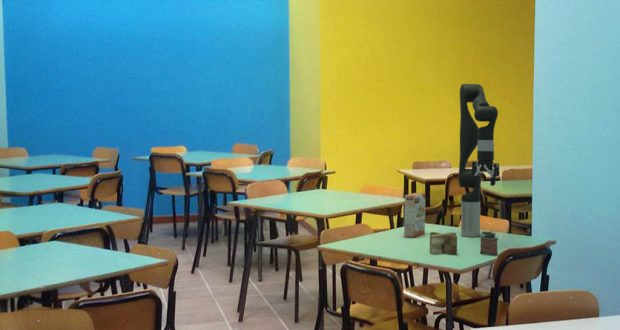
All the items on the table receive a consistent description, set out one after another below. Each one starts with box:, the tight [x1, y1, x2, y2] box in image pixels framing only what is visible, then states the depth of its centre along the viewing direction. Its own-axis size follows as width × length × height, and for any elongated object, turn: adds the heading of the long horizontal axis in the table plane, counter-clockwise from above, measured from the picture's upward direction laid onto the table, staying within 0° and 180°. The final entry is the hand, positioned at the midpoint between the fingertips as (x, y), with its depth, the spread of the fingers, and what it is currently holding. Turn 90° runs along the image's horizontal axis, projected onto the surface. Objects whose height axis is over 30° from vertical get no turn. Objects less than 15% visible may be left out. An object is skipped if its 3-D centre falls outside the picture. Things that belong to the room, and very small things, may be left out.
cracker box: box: [403, 192, 426, 239], centre depth 377 cm, size 14×6×21 cm, turn 150°
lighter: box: [479, 230, 499, 257], centre depth 329 cm, size 8×3×10 cm, turn 48°
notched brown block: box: [429, 231, 458, 256], centre depth 335 cm, size 14×2×8 cm, turn 38°
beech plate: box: [429, 231, 457, 255], centre depth 335 cm, size 2×14×8 cm, turn 127°
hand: (485, 184), depth 349 cm, fingers open, 8 cm apart
